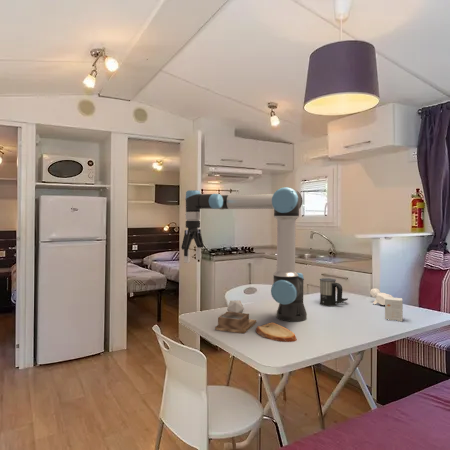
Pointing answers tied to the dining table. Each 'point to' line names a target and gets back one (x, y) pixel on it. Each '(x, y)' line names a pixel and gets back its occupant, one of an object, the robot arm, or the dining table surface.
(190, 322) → the dining table surface
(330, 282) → the milk frother
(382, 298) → the cream doll figurine
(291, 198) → the robot arm
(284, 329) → the slice of bread
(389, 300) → the small box
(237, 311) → the die
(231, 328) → the wooden box on base
